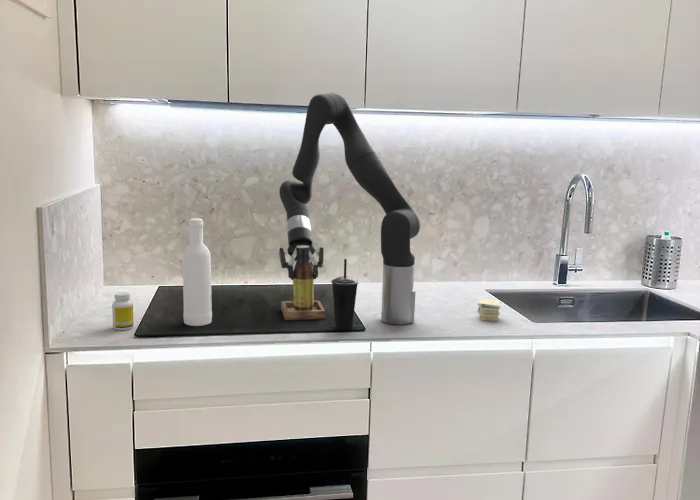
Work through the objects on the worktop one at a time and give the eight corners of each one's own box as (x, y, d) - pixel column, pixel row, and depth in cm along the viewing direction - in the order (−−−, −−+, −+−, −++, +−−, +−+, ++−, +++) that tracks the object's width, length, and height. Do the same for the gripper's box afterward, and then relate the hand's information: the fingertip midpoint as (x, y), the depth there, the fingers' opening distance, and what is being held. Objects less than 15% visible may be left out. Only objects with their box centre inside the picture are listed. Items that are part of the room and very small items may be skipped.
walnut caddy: (319, 308, 198) (319, 300, 198) (325, 318, 187) (325, 310, 186) (281, 309, 196) (281, 301, 196) (284, 320, 185) (285, 312, 184)
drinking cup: (362, 329, 178) (364, 260, 174) (338, 333, 174) (340, 262, 170) (348, 322, 184) (350, 255, 180) (325, 325, 180) (326, 257, 177)
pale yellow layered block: (505, 317, 195) (506, 300, 194) (502, 325, 186) (503, 307, 185) (473, 313, 198) (474, 296, 197) (468, 321, 190) (469, 303, 189)
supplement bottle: (137, 328, 174) (136, 293, 172) (119, 332, 170) (117, 297, 168) (127, 323, 177) (126, 290, 176) (109, 327, 173) (107, 293, 172)
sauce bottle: (303, 305, 196) (303, 243, 192) (318, 309, 192) (318, 245, 188) (288, 310, 191) (288, 246, 187) (303, 314, 187) (303, 248, 183)
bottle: (196, 328, 175) (194, 221, 170) (177, 322, 180) (175, 219, 174) (217, 321, 182) (216, 219, 176) (199, 316, 186) (197, 216, 181)
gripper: (277, 226, 193) (280, 272, 183) (323, 225, 196) (329, 271, 186) (275, 240, 199) (279, 285, 190) (320, 239, 202) (325, 284, 192)
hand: (303, 278), depth 188 cm, fingers closed on sauce bottle, 6 cm apart
